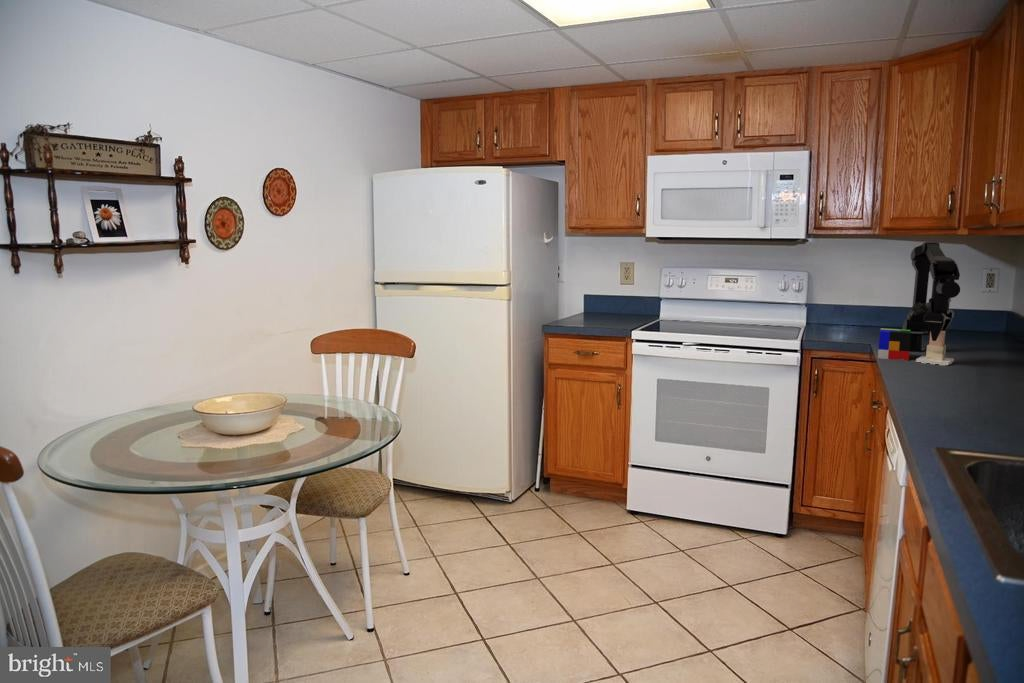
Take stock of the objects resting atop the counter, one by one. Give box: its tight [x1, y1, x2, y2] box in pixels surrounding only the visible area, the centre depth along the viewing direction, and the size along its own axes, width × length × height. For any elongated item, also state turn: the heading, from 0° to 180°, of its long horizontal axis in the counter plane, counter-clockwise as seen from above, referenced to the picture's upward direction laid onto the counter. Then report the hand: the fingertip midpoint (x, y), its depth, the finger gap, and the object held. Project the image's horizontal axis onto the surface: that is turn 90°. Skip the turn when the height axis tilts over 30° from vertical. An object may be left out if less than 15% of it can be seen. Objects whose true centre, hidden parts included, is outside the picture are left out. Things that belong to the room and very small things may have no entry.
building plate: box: [915, 355, 955, 366], centre depth 259 cm, size 10×10×1 cm
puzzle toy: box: [877, 328, 912, 361], centre depth 269 cm, size 10×10×10 cm
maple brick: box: [925, 343, 947, 361], centre depth 258 cm, size 5×5×5 cm
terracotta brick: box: [928, 331, 946, 346], centre depth 258 cm, size 4×4×5 cm
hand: (936, 339), depth 258 cm, fingers open, 9 cm apart
